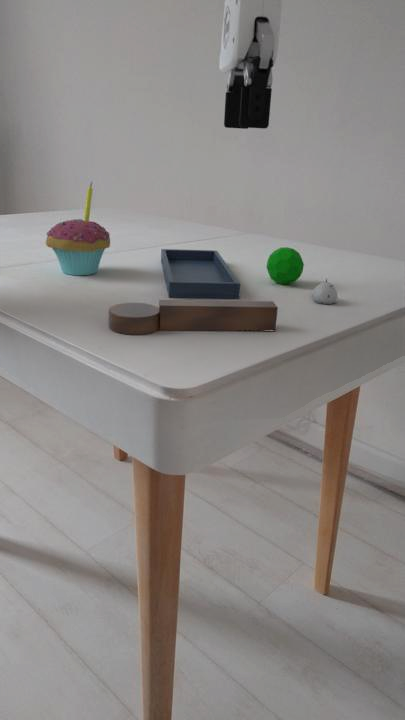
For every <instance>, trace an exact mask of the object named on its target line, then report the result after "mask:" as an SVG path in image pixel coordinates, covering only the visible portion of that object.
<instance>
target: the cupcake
mask: <svg viewBox="0 0 405 720" xmlns="http://www.w3.org/2000/svg"><path fill="white" fill-rule="evenodd" d="M92 187H93V181H90V185H89V187H87V190H86V198H85V200H86V201H85V207H84V208H85V209H84V217H83V219H81V218H78V219H76V218H74V219H70V220H65V221H60V222H58V223H57V224H55V225H54V226H52V227H51V228H50V229H49V230H48V231H47V233H46V235H47V236H46V239H45V245H46V246H47V247H48V248H51V249H52V251H53V252H54V254H55V256H56V259H57V260H58V262H59V265H60V269H61V271H62V273H64V274H66V275H70V276H91V275H94V274H97V272H98V270H99V267H100V266H99V265H100V263H101V260H102V257H103V254H104V252H105V250H106V249H108V248H110V247H111V237H110V232H109V231H107V230H106V228H105V227H104V226H102V225H100V223H97V221H96V222H95V221H91V220H90V214H91V207H92V199H93V198H92V197H93V188H92Z"/></svg>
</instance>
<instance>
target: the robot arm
mask: <svg viewBox="0 0 405 720" xmlns="http://www.w3.org/2000/svg"><path fill="white" fill-rule="evenodd" d="M282 1H283V0H224V8H223V17H222V29H221V42H220V50H219V51H220V53H219V63H218V69H219V70H220V72H221V73H223V74H227V73H228V78H227V82H226V91H225V101H224V116H223V117H224V118H223V126H224V127H225V128H226V129H243V130H247V129H264V130H265V129H268V127H269V125H270V116H271V115H270V113H271V102H272V92H273V90H272V88H273V87H272V85H273V71H272V68H273V67H274V66H275V64H276V62H277V58H278V49H279V42H280V33H281V32H280V31H281V17H282Z"/></svg>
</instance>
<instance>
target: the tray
mask: <svg viewBox="0 0 405 720" xmlns="http://www.w3.org/2000/svg"><path fill="white" fill-rule="evenodd" d="M160 262H161V267H162V271H163V277H164V281H165V282H164V283H165V286H166V290H167V291H166V292H167V295H168V298H172V299H173V298H176V299H177V298H178V299H179V298H180V299H183V298H184V299H232V300H233V299H240V291H241V283H240V281H239V279H238V278H237V276H235V273H233V271H232V270H231V269H230V267H229V266H228V264H227V263H226V261H225V260H224V258H223V257H222V256H221V254H220V252H219V251H218V250H213V249H208V250H206V249H177V248H176V249H175V248H174V249H173V248H165V249H164V248H161V249H160Z"/></svg>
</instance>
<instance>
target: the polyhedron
mask: <svg viewBox="0 0 405 720" xmlns="http://www.w3.org/2000/svg"><path fill="white" fill-rule="evenodd" d="M304 266H305V264H304V261H303V258H302V255H301V253H300V252H298V251H297V250H296V249H294V248H291V247H287V246H286V247H279V248H277V249H275V250H274V251H272V252H271V253H270V254H269V256H268V259H267V262H266V270H267V273H268V275H269V278H270V279H271V280H272V281H273V282H275V283H276V284H279V285H290V284H293V283H295V282H296V281H297V280H298V279H299V278H300V277H301V276H302V274H303V271H304Z"/></svg>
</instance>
